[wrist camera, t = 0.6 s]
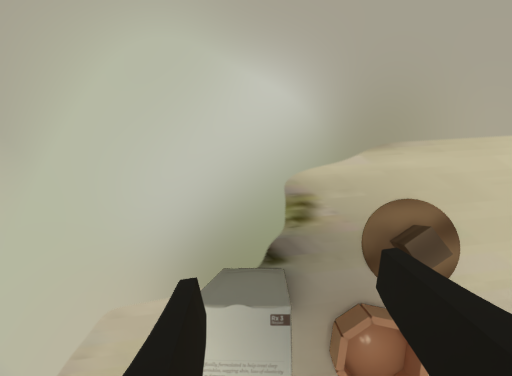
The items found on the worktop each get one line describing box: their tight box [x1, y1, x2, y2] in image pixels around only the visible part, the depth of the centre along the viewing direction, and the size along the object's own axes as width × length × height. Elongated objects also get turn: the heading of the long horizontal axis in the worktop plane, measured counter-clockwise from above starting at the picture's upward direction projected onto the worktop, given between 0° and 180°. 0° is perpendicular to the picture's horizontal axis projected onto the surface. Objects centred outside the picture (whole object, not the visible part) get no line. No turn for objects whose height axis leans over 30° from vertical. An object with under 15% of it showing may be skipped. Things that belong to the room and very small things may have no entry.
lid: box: [362, 199, 460, 278], centre depth 31 cm, size 11×11×5 cm
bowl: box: [329, 303, 428, 376], centre depth 30 cm, size 9×9×4 cm
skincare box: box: [201, 268, 292, 376], centre depth 27 cm, size 8×6×15 cm
